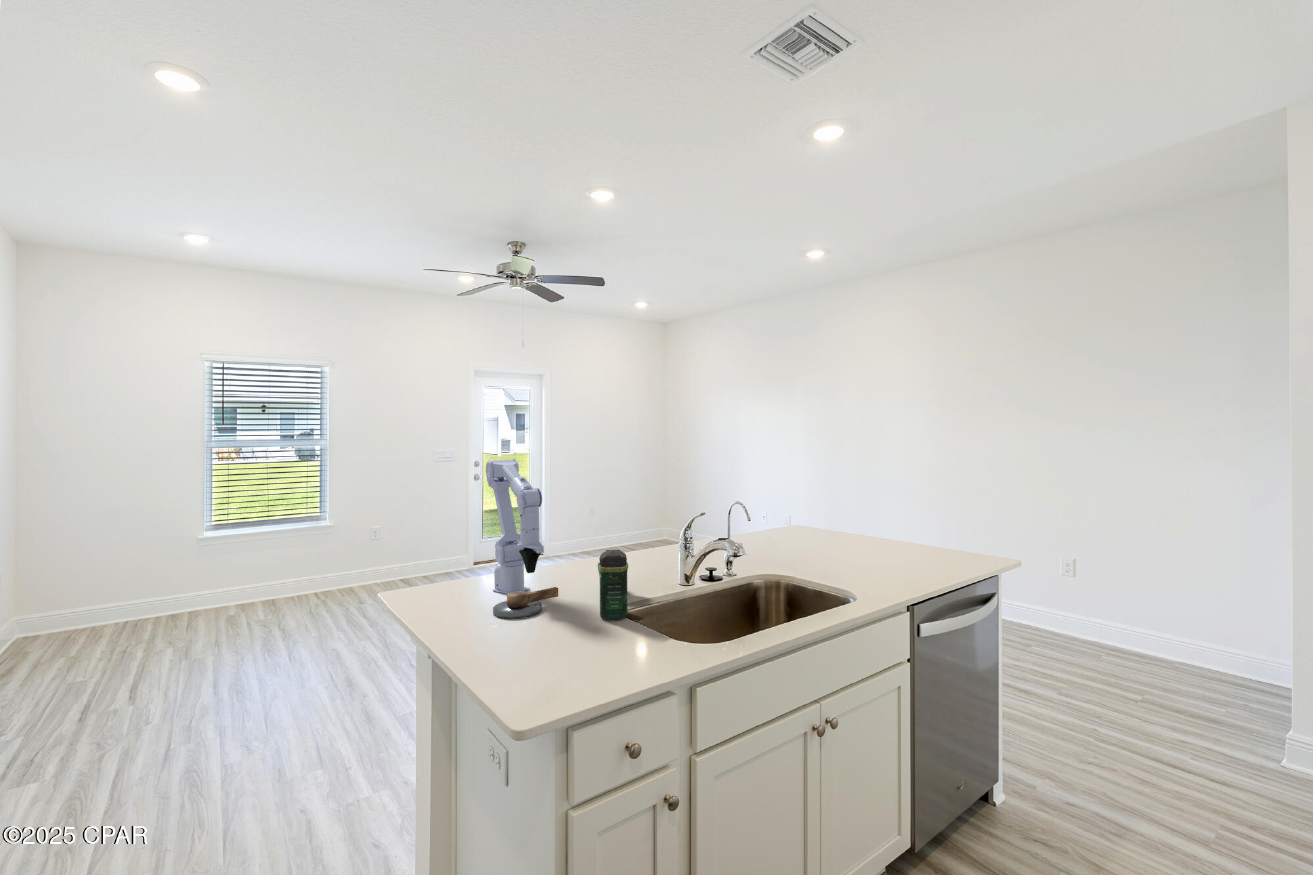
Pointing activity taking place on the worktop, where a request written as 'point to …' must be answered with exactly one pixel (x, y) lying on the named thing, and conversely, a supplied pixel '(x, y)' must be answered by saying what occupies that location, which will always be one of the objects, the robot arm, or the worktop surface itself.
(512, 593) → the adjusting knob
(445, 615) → the worktop surface
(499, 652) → the worktop surface
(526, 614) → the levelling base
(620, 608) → the coffee jar
